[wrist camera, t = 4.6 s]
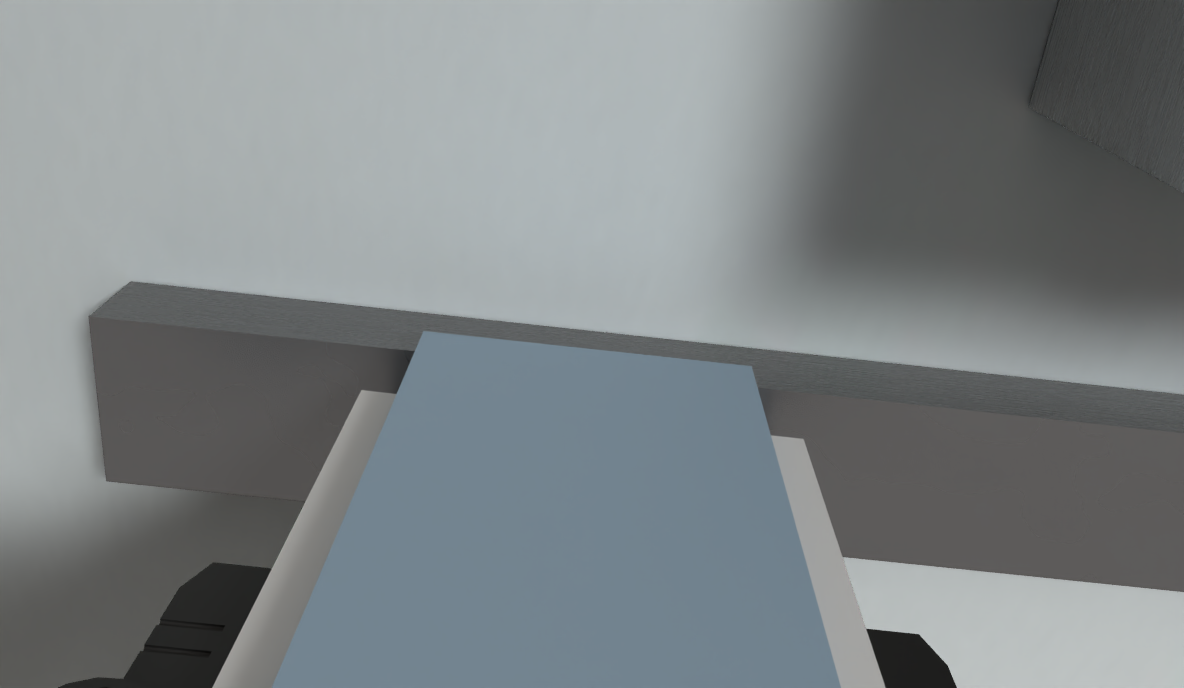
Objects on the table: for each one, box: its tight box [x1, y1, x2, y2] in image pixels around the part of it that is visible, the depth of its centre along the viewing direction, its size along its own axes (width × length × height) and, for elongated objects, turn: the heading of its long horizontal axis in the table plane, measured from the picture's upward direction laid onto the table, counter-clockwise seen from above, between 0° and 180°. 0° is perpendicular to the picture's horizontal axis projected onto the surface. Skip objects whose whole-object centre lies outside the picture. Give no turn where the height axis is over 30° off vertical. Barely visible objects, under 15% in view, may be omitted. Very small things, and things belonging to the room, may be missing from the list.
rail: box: [89, 282, 1184, 592], centre depth 16 cm, size 24×4×4 cm, turn 84°
